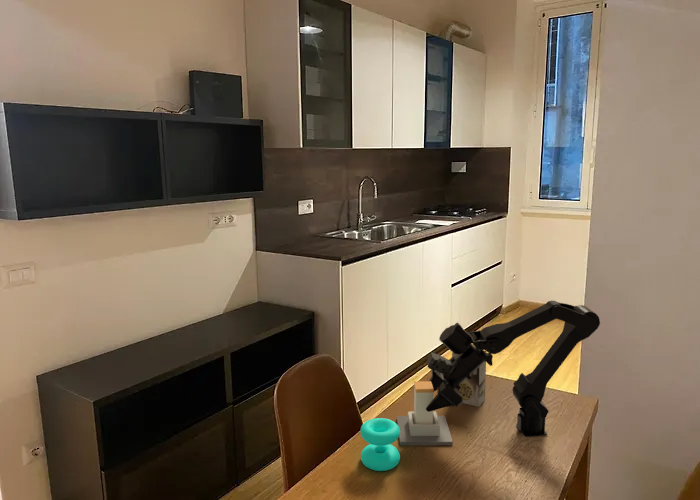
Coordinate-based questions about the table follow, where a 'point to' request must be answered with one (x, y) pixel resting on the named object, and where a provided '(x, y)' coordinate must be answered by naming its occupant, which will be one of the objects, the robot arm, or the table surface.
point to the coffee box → (474, 386)
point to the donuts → (380, 444)
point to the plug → (423, 402)
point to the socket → (424, 431)
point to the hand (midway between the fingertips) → (424, 402)
